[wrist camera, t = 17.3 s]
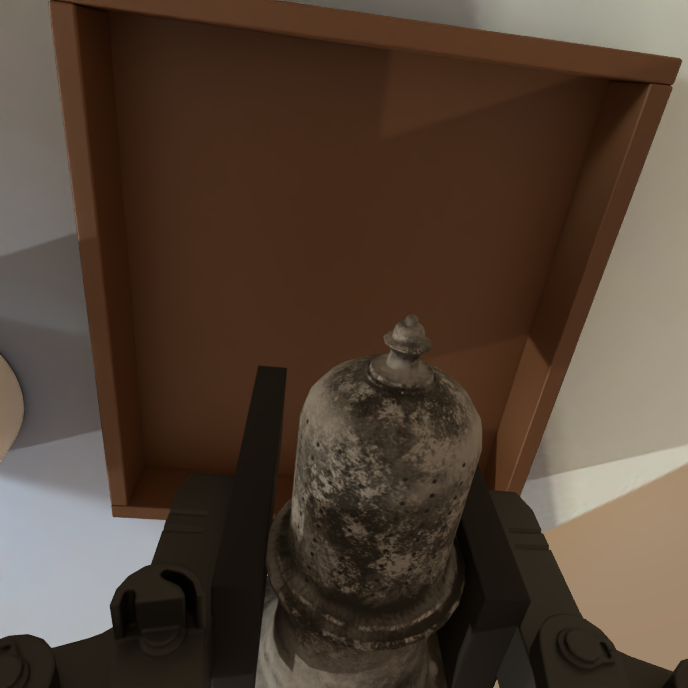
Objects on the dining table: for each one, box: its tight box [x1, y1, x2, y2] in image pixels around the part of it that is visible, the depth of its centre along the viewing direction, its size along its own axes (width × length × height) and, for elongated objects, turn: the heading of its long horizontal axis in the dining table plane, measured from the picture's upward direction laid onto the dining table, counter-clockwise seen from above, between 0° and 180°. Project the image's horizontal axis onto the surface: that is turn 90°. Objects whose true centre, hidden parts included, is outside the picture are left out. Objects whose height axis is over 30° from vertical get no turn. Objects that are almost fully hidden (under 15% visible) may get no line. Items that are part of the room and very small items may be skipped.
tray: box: [49, 0, 682, 520], centre depth 20 cm, size 19×17×3 cm
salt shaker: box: [210, 314, 482, 688], centre depth 10 cm, size 6×6×12 cm
